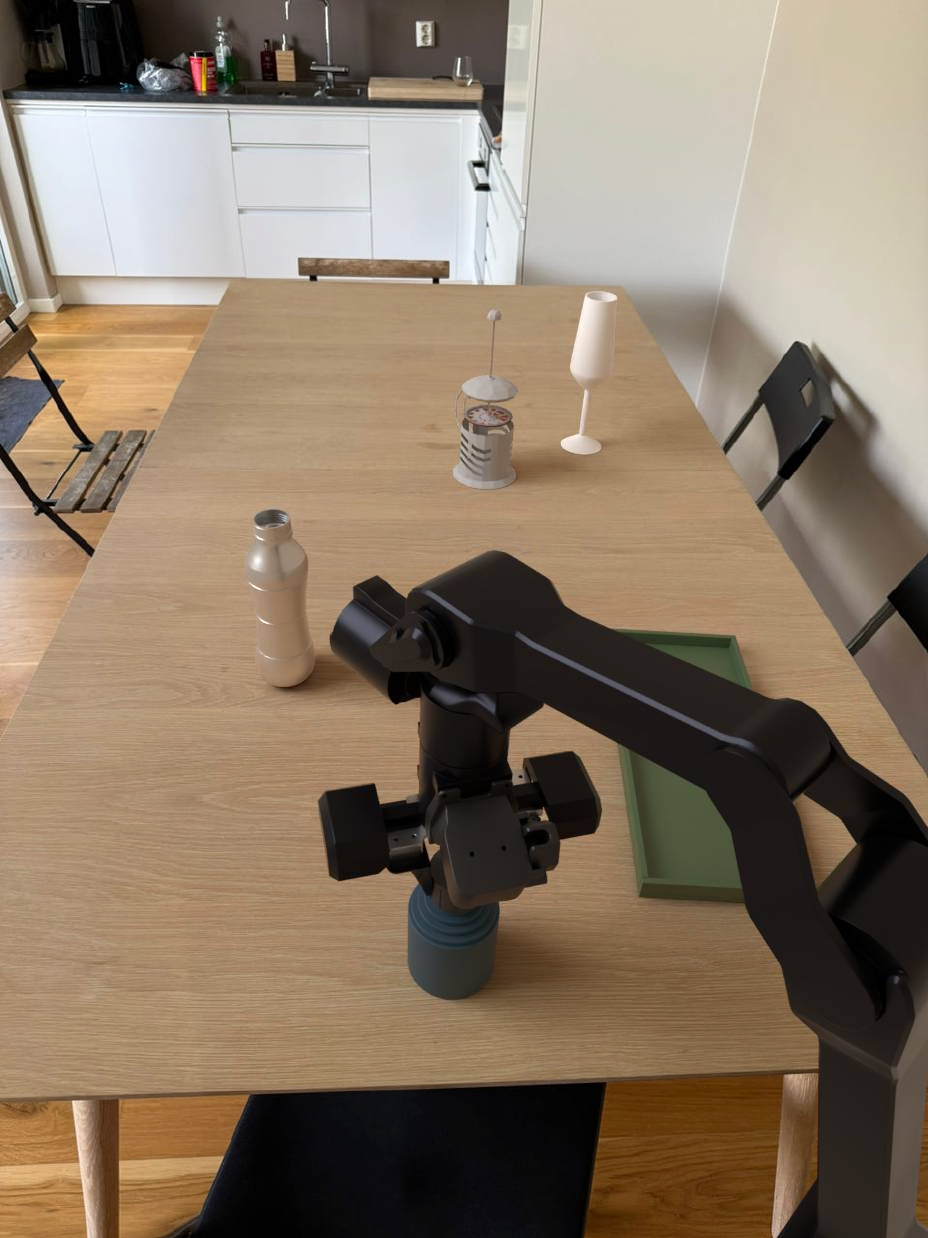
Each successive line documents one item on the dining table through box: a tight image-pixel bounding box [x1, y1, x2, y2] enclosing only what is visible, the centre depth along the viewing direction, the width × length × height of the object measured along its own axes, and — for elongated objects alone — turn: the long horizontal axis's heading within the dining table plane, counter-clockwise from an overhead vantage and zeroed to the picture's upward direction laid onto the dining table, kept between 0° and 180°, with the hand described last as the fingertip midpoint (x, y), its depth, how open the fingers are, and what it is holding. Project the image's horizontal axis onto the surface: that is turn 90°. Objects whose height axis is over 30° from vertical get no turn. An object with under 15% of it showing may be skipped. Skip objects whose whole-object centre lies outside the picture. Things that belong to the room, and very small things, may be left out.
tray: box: [610, 627, 819, 904], centre depth 91 cm, size 35×15×2 cm, turn 178°
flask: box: [407, 883, 501, 1000], centre depth 68 cm, size 7×7×12 cm
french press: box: [452, 309, 519, 490], centre depth 129 cm, size 10×12×25 cm
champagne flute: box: [560, 290, 618, 456], centre depth 138 cm, size 7×7×24 cm
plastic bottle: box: [243, 508, 317, 688], centre depth 92 cm, size 6×7×20 cm
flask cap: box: [430, 849, 473, 914], centre depth 65 cm, size 4×4×3 cm
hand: (455, 885), depth 66 cm, fingers closed on flask cap, 4 cm apart
